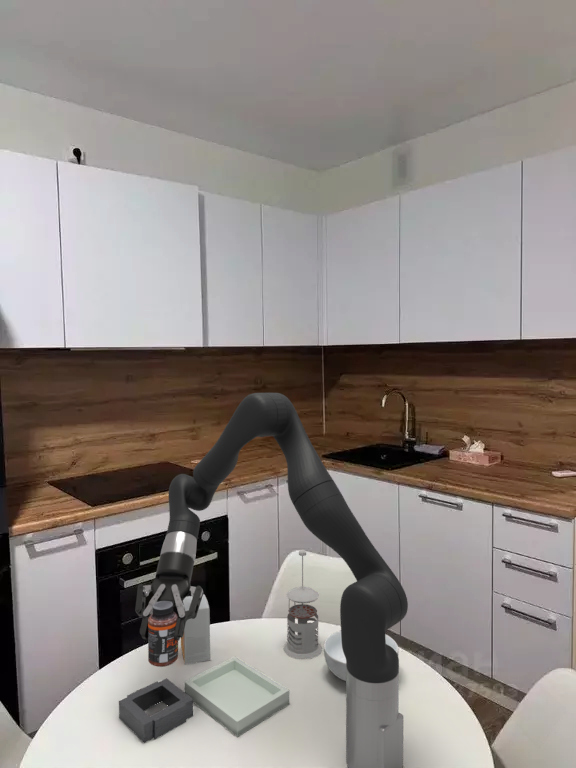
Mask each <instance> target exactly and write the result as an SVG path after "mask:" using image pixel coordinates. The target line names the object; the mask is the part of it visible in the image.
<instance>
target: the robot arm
mask: <svg viewBox="0 0 576 768" xmlns="http://www.w3.org/2000/svg"><path fill="white" fill-rule="evenodd" d="M257 437H258V438H264V437H273V438H274V440H275V441H276V443H277V444H278V446H279V447H280V449H281V451H282V453H283V456H284V457H285V460H286V465H287V466H286V467H287V490H288V497H289V498H290V501H291V503H292V505H293V507H294V508H295V511H296V512H297V514H298V517H300V519H301V521H302V523H303V524H304V526H305V527H306V529H307V530H308V531H309V532H310V533H312V535H313V536H315V537H316V538H317V539H318V540H320V541H321V542H323V543H324V544H325V545H326V546H328V547H329V548H330V549H332V550H333V551H334V552H335V553H336V554H338V556H339V557H341V559H342V560H343V561H344V563H346V565H347V566H348V567H349V569H350V571H351V573H352V575H353V576H354V578H355V580H356V581H355V582H353V583H350V584H349V585H348V586H347V587H345V589H344V590H343V592H342V595H341V598H340V603H339V604H340V606H339V608H340V609H339V611H340V612H339V617H340V630H341V640H342V649H343V652H344V655H345V658H346V681H345V690H346V691H345V701H346V702H345V750H346V751H345V760H346V765H347V768H403V767H404V715H403V714H402V713H401V712H399V708H400V707H399V705H400V704H399V703H400V702H399V699H400V698H399V695H400V694H399V693H400V692H399V691H400V690H399V689H400V688H399V687H400V686H399V685H400V682H399V681H400V672H399V671H400V659H399V653H398V654H397V653H396V651H395V650H394V649H393V648H392V647H391V646H389V645H387V644H386V639H385V634H386V631H388V630H390V628H392V627H394V626H396V625H397V624H398V623H400V622H401V621H402V620H403V619H404V618H405V617H406V616H407V613H408V611H409V609H408V606H409V603H408V602H409V601H408V597H407V595H406V591H405V589H404V588H403V586H402V584H401V582H400V580H399V579H398V577H397V576H396V575H395V573H394V572H393V571H392V569H391V568H390V566H389V564H387V562H386V561H385V560H384V558H383V556H381V554H380V553H379V551H378V550H377V549H376V548H375V546H374V544H373V543H372V541H371V540H370V539H369V537H368V536H367V533H366V532H365V531H364V529H363V527H362V526H361V524H360V523H359V521H358V519H357V518H356V517H355V514H354V513H353V512H352V510H351V509H350V507H349V505H348V502H347V501H346V499H345V498H344V496H343V494H342V491H340V489H339V487H338V485H337V484H336V481H334V478H333V477H332V476H331V474H330V473H329V472H328V470H327V468H326V467H325V464H324V463H323V462H322V460H321V457H320V456H319V455H318V452H317V451H316V449H315V447H314V446H313V444H312V442H311V440H310V438H309V436H308V434H307V432H306V430H305V427H304V425H303V423H302V421H301V419H300V417H299V415H298V412H297V410H296V408H295V407H294V404H293V403H292V402H291V399H289V398H288V397H287V396H286V395H284V394H283V393H279V392H254V393H251V394H250V393H249V394H247V396H245V397H244V398H243V399H242V400H241V401H240V403H239V404H238V406H237V407H236V409H235V411H234V412H233V415H232V416H231V417H230V419H229V421H228V423H227V424H226V426H225V428H224V429H223V431H222V433H221V435H220V436H219V437H218V440H216V442H215V443H214V444H213V446H212V447H211V448H210V450H209V451H208V452H207V453H206V454H205V455H204V456H203V457H202V458H201V459H200V460H199V462H198V463H197V464H196V465H195V467H194V468H193V471H192V476H191V475H189V474H185V473H180V474H177V475H176V476H175V477H174V478H173V479H172V480H171V481H170V485H169V486H168V487H169V488H168V506H169V508H168V509H169V511H168V513H169V521H168V526H167V531H166V534H165V539H164V540H163V544H162V547H161V550H160V554H159V555H160V556H159V559H158V563H157V568H156V572H155V576H154V580H153V582H152V583H151V584H147V585H146V584H145V585H144V584H143V583H139V584H138V586H137V590H136V591H137V592H136V598H135V599H136V601H135V609H134V611H135V613H136V614H137V616H138V618H139V617H140V618H141V619H142V620H141V624H140V628H139V634H140V635H141V639H143V640H148V619H149V617H150V616H151V615H152V614H153V612H152V611H153V605H154V604H155V603H157V602H160V601H170V602H172V603H173V608H174V607H176V609H177V613H178V618H177V623H176V628H175V633H174V639H175V641H178V642H179V641H181V638H182V637H183V635H184V629H185V624H186V621H187V620H188V619H191V618H192V619H195V618H196V616H197V613H198V609H199V606H200V603H201V600H202V596H203V595H204V590H203V588H202V586H201V585H197V586H192V585H191V581H192V576H193V571H194V566H195V565H194V564H195V560H196V557H197V556H196V554H197V542H198V538H199V531H200V525H201V520H200V517H199V516H198V515H197V514H196V513H195V512H194V511H196V512H200V511H204V510H206V509H207V508H209V506H210V505H211V503H212V501H213V498H214V495H215V493H216V492H217V490H218V487H219V486H220V485H221V484H222V483H223V481H224V480H225V479H227V478H228V477H229V475H230V474H232V472H233V471H234V470H235V468H236V466H237V463H238V459H239V455H240V451H241V450H242V449H243V447H245V446H246V445H247V444H249V442H251V441H253V440H254V439H256V438H257ZM192 510H193V511H192ZM151 592H152V594H153V596H152V597H151V599H150V600H149V602H148V605H147V606H146V600H147V599H146V598H147V597H148V596H149V594H150V593H151ZM189 594H190V596H192V597H193V598H192V601H191V605H190V608H189V610H188V611H185V606H184V602H183V600H184V599H185V597H188V596H189Z"/></svg>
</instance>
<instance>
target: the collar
mask: <svg viewBox="0 0 576 768" xmlns="http://www.w3.org/2000/svg"><path fill="white" fill-rule="evenodd" d="M161 701H163V702H161ZM159 702H160V703H163V704H164V705H165V706H167V705H168V706H167V707H165V708H163V709H160V710H159V711H157V712H156V713H153V714H151V715H150V716H149V714H147V713H146V710H148V709H150V708H152V707H154V706H156V705H158V704H160V703H159ZM157 703H158V704H157ZM155 704H156V705H155ZM144 710H145V711H144ZM193 717H194V702H193V699H192V698H191V697H190V696H189V695H187V694H186V693H185V692H184V690H182V689H181V688H180V687H178V686H177V685H176V684H174V683H173V682H172V681H171V680H169V679H168V678H164V679H162V680H160V681H154V682H153V683H151V684H148V685H147V686H144V687H142V688H140V689H138V690H136V691H134V692H131V693H129V694H127V695H126V697H124V698H123V699H120V700H118V718H119V719H120V721H121V722H122V723H123V724H124V725H126V727H127V728H128V729H129V730H130V731H131V732H132V733H134V735H135V736H137V738H138V739H139V740H140V741H141V742H142V743H143V744H145V743H147V742H149V741H151V740H153V739H154V740H157V739H158V738H160V737H162V736H164V735H166V734H168V733H169V732H171V731H173V730H175V729H176V728H178V727H180V726H182V725H183V724H185V723H187V720H188V719H190V718H193Z"/></svg>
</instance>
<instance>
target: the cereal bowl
mask: <svg viewBox="0 0 576 768" xmlns="http://www.w3.org/2000/svg"><path fill="white" fill-rule="evenodd" d="M385 639H386V644H387V645H389V646H391V647H392V648H393V649H394V650H395V651H396V653H397V654H398V655H399V646H398V643H397V642H396V641H395V639H393V638H392V636H390V635H388V634H386V633H385ZM323 655H324V660H325V663H326V666H327V668H328V669H329V670H330V671H331V672H332V673H333V675H335V676H336V677H337V678H339V679H340V680H343V681H345V682H346V658H345V655H344V652H343V649H342V640H341V629H340V630H338V631H336V632H333V633H331V634H330V635H329V636H327V637H326V639H325V641H324V644H323Z"/></svg>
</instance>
